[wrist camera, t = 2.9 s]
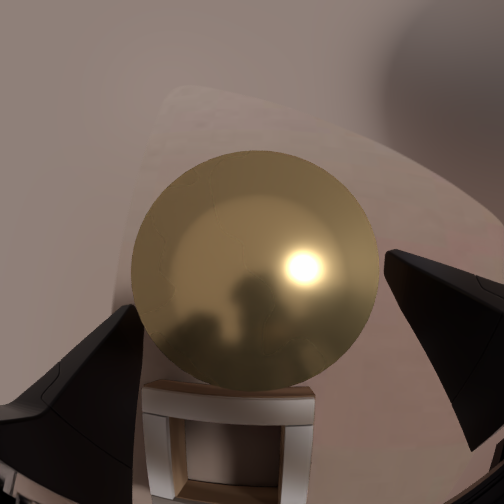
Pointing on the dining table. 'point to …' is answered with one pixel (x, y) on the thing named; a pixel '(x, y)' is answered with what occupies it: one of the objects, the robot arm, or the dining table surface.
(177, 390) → the shallow grey tray
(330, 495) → the dining table surface
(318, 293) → the gold cylinder
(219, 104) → the dining table surface
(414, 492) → the dining table surface
